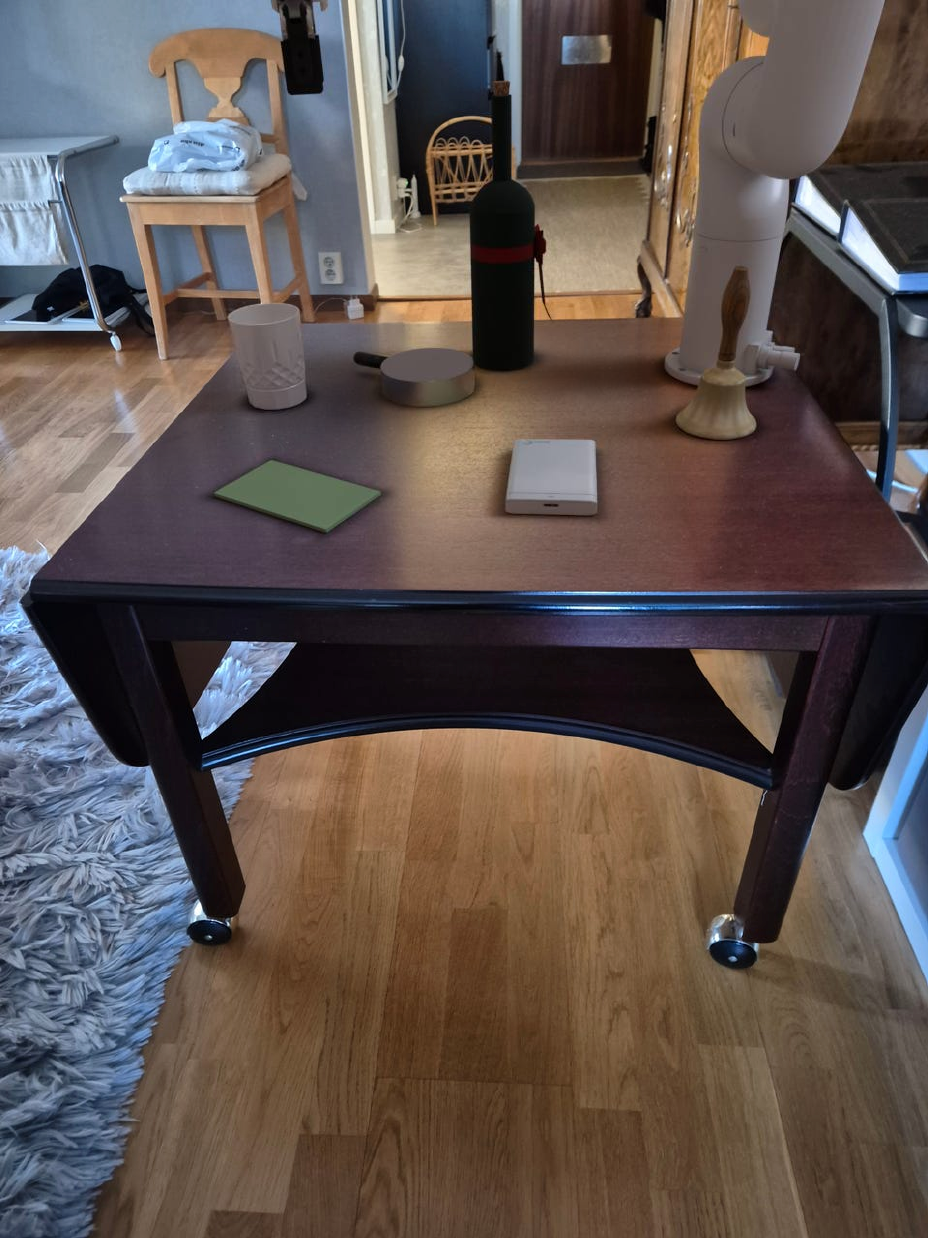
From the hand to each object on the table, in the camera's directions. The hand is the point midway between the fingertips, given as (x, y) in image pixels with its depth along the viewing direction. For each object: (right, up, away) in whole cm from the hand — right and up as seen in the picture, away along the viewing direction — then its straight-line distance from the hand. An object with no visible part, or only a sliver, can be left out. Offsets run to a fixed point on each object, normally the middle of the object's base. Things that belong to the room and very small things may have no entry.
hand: (307, 88), depth 80 cm
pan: (+8, -22, +22) cm, 32 cm away
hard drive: (+23, -37, +1) cm, 44 cm away
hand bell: (+42, -29, +10) cm, 52 cm away
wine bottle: (+21, -17, +28) cm, 39 cm away
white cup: (-7, -24, +20) cm, 32 cm away
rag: (-1, -38, +1) cm, 38 cm away
